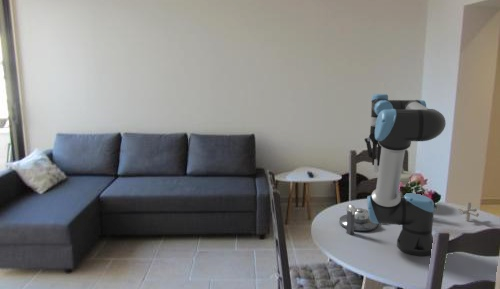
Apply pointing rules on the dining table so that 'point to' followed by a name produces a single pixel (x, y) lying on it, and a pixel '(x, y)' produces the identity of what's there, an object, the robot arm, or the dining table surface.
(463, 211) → the pipe connector
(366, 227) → the turntable
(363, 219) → the cover
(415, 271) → the dining table surface
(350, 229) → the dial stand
